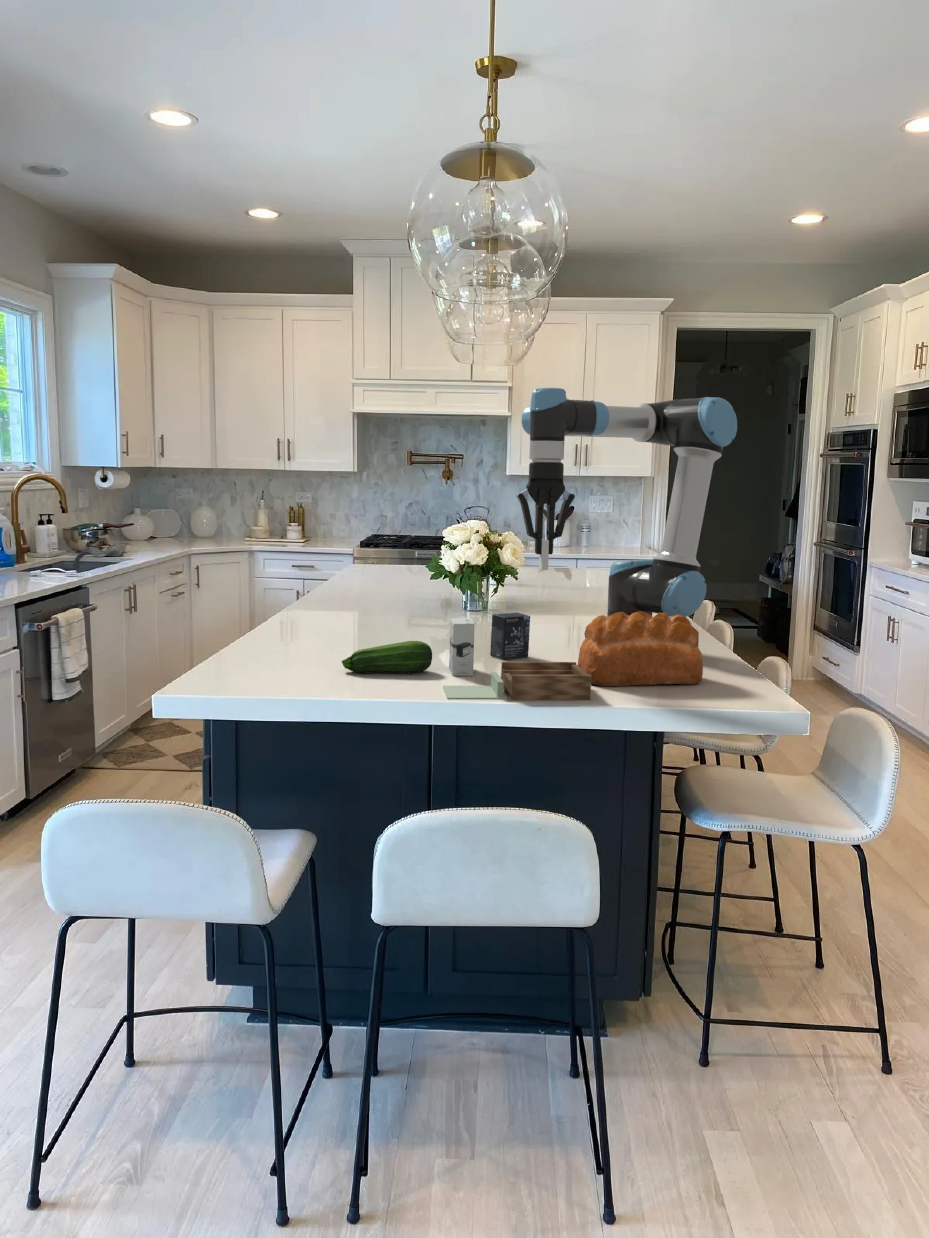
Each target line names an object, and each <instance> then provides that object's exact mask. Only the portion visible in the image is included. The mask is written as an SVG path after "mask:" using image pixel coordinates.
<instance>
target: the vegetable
mask: <svg viewBox="0 0 929 1238" xmlns="http://www.w3.org/2000/svg"><path fill="white" fill-rule="evenodd" d="M432 660H433V651H432V648H431V646H430V644H428V643H427V642H424V641H420V640H406V641H401V642H395V643H389V644H383V645H377V646H373V647H368V648H363V649H359V650H356V651H354V652H353V653H352V654H351V656H348V657H347V658H345V659H342V660H341V664H342V666H343V667H344V669H346V670H349V671H351V672H353V673H354V674H356V675H357V674H358V675H359V674H361V675H362V674H365V675H366V674H373V673H382V674H383V673H384V674H385V673H388V674H417V673H422V672H424V671H427V670H428V668H430V667H431V665H432Z"/></svg>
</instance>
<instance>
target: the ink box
mask: <svg viewBox="0 0 929 1238" xmlns="http://www.w3.org/2000/svg"><path fill="white" fill-rule="evenodd" d="M449 631H450V632H449V633H450V634H449V657H448V659H449V661H448V662H449V665H448V667H449V670H450V672H451V673H450V674H451V675H452V676H454V677H460V676H461V677H473V676H474V663H475V661H474V659H475V658H474V656H475V655H474V653H475V621H474V620H473V618H472V617H456V618H454V617H452V618H450V630H449Z"/></svg>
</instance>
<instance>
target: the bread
mask: <svg viewBox="0 0 929 1238" xmlns="http://www.w3.org/2000/svg"><path fill="white" fill-rule="evenodd" d="M584 630H585V631H584V640H583V641H582V642H581V644H580V647H579V652H578V659H577V664H576V665H577V666H579V667H580V668H581V669H582V670H583V671H584V672H586V673H587V674H588V675H591V685H594V686H595V685H596V686H602V687H603V686H604V687H607V686H609V687H610V686H611V687H616V686H620V687H621V686H625V687H626V686H656V685H655V684H657V685H665V684H689V685H697V684H699V682H700V683H702V682H703V680H702V679H703V674H704V668H703V667H704V665H703V661H704V660H703V655H702V651H701V650H700V648H699V641H700V640H699V637H700V635H699V631H698V630H697V629H696V628H695V627H694V626H693V625H692V624H691V622H690V620H689V619H688V618H687V617H684V616H682V615H680V614H678V615H675V616H673V617H671V616H668V615H667V614H666V613H656V615H654V616H653V615H652V616H651V615H650V614H648V613H646V612H642V611H638V612H635V613H632V614H631V615H630V616H629V615H627V614H626V613H624V612H617V613H614V614H612V615H611V616H609V617H607V616H606V615H603V614H601V615H598V616H596V617H595V618H593V619H592V620H591V622H590V623H589V624H587V625H586V627H585V629H584ZM696 683H697V684H696Z"/></svg>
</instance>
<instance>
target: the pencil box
mask: <svg viewBox="0 0 929 1238" xmlns="http://www.w3.org/2000/svg"><path fill="white" fill-rule="evenodd" d="M577 665H578V664H577V661H501V669H500V670H501V672H500V678H501V679H502V680H503V682H504V686H503V691H504V693H505V694H506V695H507V697H509V699H510V700H511V701H591V692H592V684H591V675H588V674H587V673H586V672H584V671H583V670H582V669H581V668H580V667H579V666H577Z"/></svg>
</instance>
